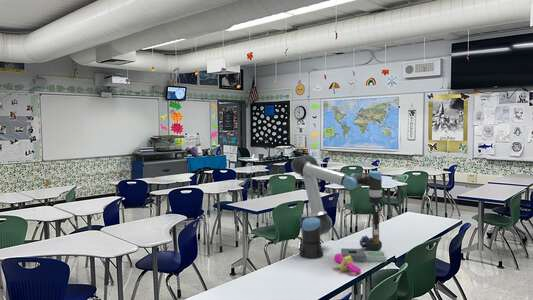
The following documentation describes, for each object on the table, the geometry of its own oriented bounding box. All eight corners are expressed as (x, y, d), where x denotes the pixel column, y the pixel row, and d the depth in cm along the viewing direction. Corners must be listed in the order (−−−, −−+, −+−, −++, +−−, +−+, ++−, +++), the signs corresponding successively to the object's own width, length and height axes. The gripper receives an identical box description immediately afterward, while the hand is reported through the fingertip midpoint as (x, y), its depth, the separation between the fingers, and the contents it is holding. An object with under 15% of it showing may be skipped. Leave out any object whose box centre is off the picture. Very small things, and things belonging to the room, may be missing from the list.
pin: (379, 244, 255) (379, 220, 254) (371, 244, 256) (371, 220, 255) (379, 242, 260) (379, 218, 259) (371, 241, 261) (371, 218, 260)
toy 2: (365, 234, 284) (383, 239, 272) (365, 246, 285) (383, 251, 273) (357, 236, 279) (375, 241, 267) (357, 249, 280) (375, 254, 268)
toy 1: (351, 279, 230) (359, 262, 230) (326, 262, 242) (334, 246, 242) (358, 280, 237) (367, 264, 237) (334, 264, 249) (342, 249, 250)
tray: (366, 261, 255) (366, 256, 255) (365, 256, 265) (365, 251, 265) (386, 262, 253) (386, 256, 253) (384, 256, 263) (384, 251, 263)
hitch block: (341, 261, 255) (341, 255, 255) (341, 254, 269) (341, 248, 269) (364, 262, 253) (364, 256, 253) (363, 255, 267) (363, 249, 267)
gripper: (383, 198, 247) (383, 237, 249) (380, 193, 264) (380, 230, 265) (370, 198, 248) (370, 237, 250) (368, 193, 265) (368, 229, 267)
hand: (375, 233), depth 258 cm, fingers closed on pin, 4 cm apart
